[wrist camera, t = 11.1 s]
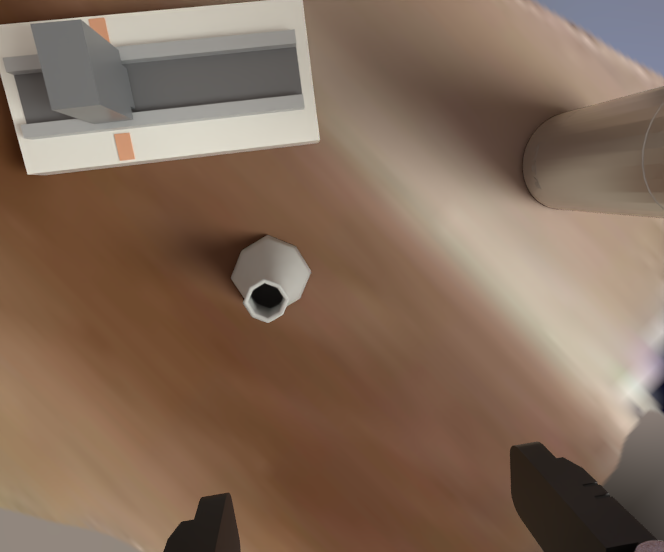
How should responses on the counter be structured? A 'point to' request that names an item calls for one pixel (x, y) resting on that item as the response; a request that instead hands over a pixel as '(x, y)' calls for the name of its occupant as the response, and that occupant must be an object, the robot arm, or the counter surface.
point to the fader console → (174, 87)
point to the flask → (270, 277)
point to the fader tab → (82, 72)
